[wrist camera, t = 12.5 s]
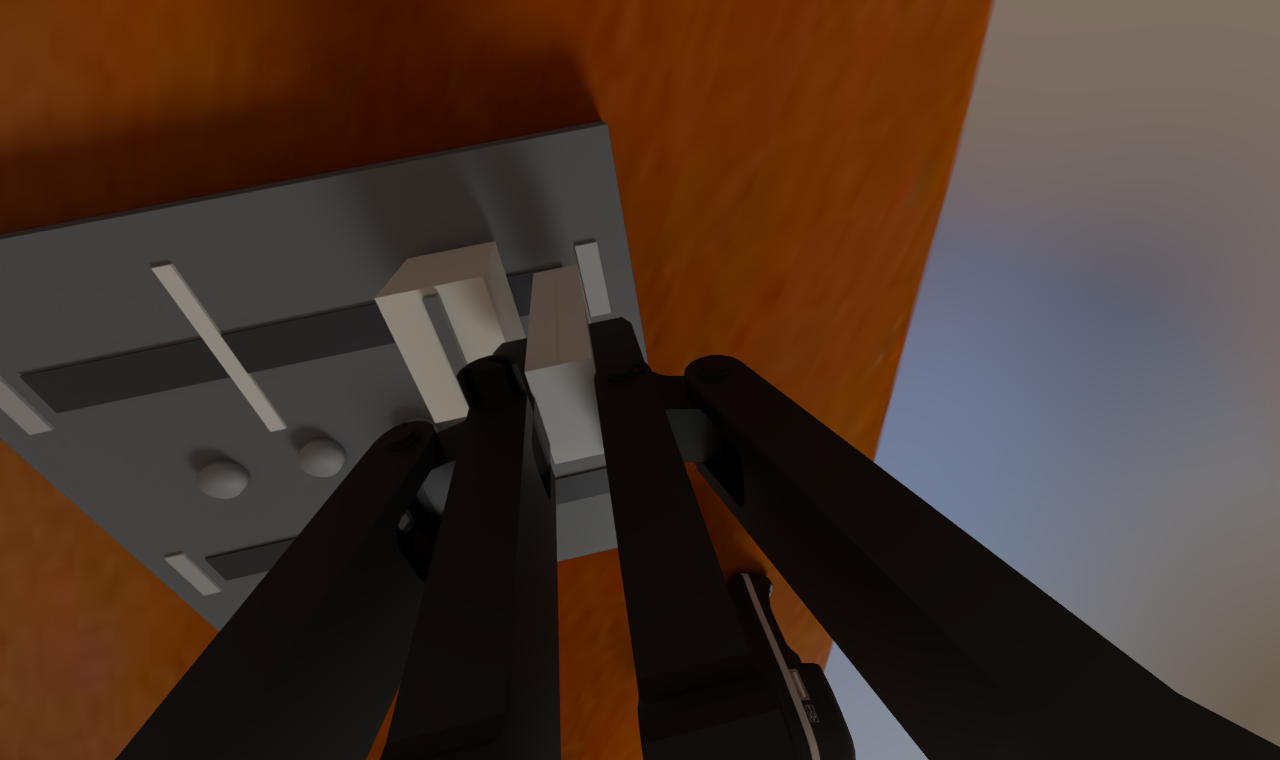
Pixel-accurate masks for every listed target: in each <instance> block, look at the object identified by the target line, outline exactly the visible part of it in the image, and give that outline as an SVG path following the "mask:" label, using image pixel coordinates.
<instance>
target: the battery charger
mask: <svg viewBox="0 0 1280 760" xmlns="http://www.w3.org/2000/svg"><path fill="white" fill-rule="evenodd" d="M727 588H728V591H729V594H730V597H731V599H732V602H733V605H734V608H735V611H736V614H737V616H738V619H739V622H740V625H741V628H742V631H743V634H744V636H745V639H746V642H747V645H748V648H749V651H750V653H751V656H752V659H753V661H754V664H755V666H756V667H757V669H758V670H759V671H760V672H761V673H762V674H763V675H764V676H765V678H766V680H767V682H768V683H769V685H770V687H771V690H772V692H773V695H774V697H775V700H776V702H777V705H778V707H779V710H780V712H781V715H782V718H783V721H784V723H785V726H786V729H787V731H788V734H789V737H790V740H791V742H792V745H793V748H794V751H795V753H796V756H797V759H798V760H856V758H855V749H854V744H853V740H852V738H851V735H850V732H849V730H848V727H847V725H846V722H845V720H844V717H843V715H842V712H841V710H840V707H839V705H838V703H837V701H836V698H835V696H834V694H833V691H832V689H831V687H830V685H829V683H828V681H827V679H826V677H825V675H824V673H823V671H822V669H821V667H820V665H819V664H815V663H801V660H800V658H799V656H798V655H797V654H796V653H795V652H794V651H793V650H792V649H791V648H790V647H789V646H788V645H787V644H786V642H785V640H784V637H783V635H782V633H781V631H780V629H779V627H778V624H777V622H776V620H775V618H774V615H773V613H772V610H771V607H770V601H769V597H770V595H771V593H772V590H773V585H772V583H771V581H770V579H769V578H767V577H765V576H762V575H756V574H755V575H748V574H747V573H741V574H740V575H734V576H733V577H732V579H731V581H730V583H729V585H728V587H727Z"/></svg>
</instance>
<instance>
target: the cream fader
mask: <svg viewBox="0 0 1280 760" xmlns="http://www.w3.org/2000/svg"><path fill="white" fill-rule="evenodd" d="M374 299H375V301H376V303H377V305H378V307H379V309H380V311H381V313H382V315H383V317H384V319H385V321H386V323H387V325H388V327H389V330H390V332H391V334H392V336H393V338H394V340H395V342H396V344H397V346H398V348H399V350H400V352H401V354H402V356H403V358H404V360H405V362H406V364H407V366H408V368H409V371H410V373H411V375H412V377H413V379H414V381H415V383H416V385H417V387H418V389H419V391H420V393H421V395H422V397H423V399H424V401H425V403H426V405H427V407H428V409H429V412H430V414H431V416H432V418H433V420H434V422H435V423H439V422H444V421H448V420H453V419H457V418H462V417H467V413H468V409H469V405H468V403H467V401H466V398H465V396H464V394H463V391H462V389H461V386H460V384H459V382H458V379H457V377H456V376H457V374H458V373H459V371H460V370H461V369H462V368H463V367H465V366H466V365H467V364H469V363H471V362H473V361H475V360H477V359H479V358H483V357H486V356H489V355H493V353H494V352H495V350H496V349H497V348H498V347H499V346H500V345H501V344H502V343H505V342H510V341H515V340H519V339H524V338H526V336H525V333H524V330H523V327H522V324H521V321H520V318H519V315H518V311H517V308H516V305H515V302H514V299H513V296H512V293H511V290H510V286H509V283H508V280H507V277H506V274H505V271H504V268H503V264H502V261H501V258H500V255H499V252H498V249H497V246H496V243H495V241H493V242H488V243H483V244H478V245H473V246H468V247H463V248H458V249H453V250H448V251H443V252H438V253H433V254H428V255H423V256H418V257H413V258H408V259H406V261H405V262H404V263H403V264H402V266H401V267H400V268H399V269H398V270H397V272H396V273H395V274H394V275H393V276H392V278H391V279H390V280H389V281H388V282H387V284H386V285H385V286H384V287H383V288H382V290H381V291H380V292H379V293H378V295H377V296H376V297H375V298H374Z"/></svg>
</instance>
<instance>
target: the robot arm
mask: <svg viewBox="0 0 1280 760" xmlns="http://www.w3.org/2000/svg"><path fill="white" fill-rule="evenodd" d="M456 377H457V379H458V382H459V384H460V386H461V389H462V391H463V394H464V396H465V398H466V401H467V403H468V405H469V409H468V413H467V417H466V420H464V421H462V422H460V423H458V424H456V425H454V426H452V427H449V428H447V429H444V430H442V431H439V432H436V430H435V428H434V426H433V424H431V423H430V422H428V421H419V420H417V421H411V422H405V423H402V424H400V425H397V426H395V427H393V428H391V429H390V430H389V431H387V432H385V433H384V434H382V435H381V436H380V437H379V438H378V439H377V440H376V441H375V442H374V443H373V444H372V445H371V447H370V448H369V449H368V450H367V452H366V453H365V454H364V455H363V456H362V458H361V459H360V460H359V461H358V463H357V464H356V465H355V466H354V467H353V469H352V470H351V471H350V472H349V474H348V475H347V476H346V477H345V479H344V480H343V481H342V482H341V483H340V485H339V486H338V487H337V488H336V490H335V491H334V492H333V493H332V494H331V496H330V497H329V498H328V499H327V501H326V502H325V503H324V504H323V506H322V507H321V508H320V509H319V510H318V512H317V513H316V514H315V515H314V517H313V518H312V519H311V520H310V521H309V523H308V524H307V525H306V526H305V528H304V529H303V530H302V531H301V532H300V534H299V535H298V536H297V537H296V539H295V540H294V541H293V542H292V544H291V545H290V546H289V547H288V548H287V550H286V551H285V552H284V553H283V555H282V556H281V557H280V558H279V559H278V561H277V562H276V563H275V564H274V566H273V567H272V568H271V569H270V570H269V572H268V573H267V574H266V575H265V577H264V578H263V579H262V580H261V582H260V583H259V584H258V585H257V586H256V588H255V589H254V590H253V591H252V593H251V594H250V595H249V596H248V597H247V599H246V600H245V601H244V602H243V604H242V605H241V606H240V607H239V609H238V610H237V611H236V612H235V613H234V615H233V616H232V617H231V618H230V620H229V621H228V622H227V623H226V624H225V626H224V627H223V628H222V629H221V631H220V632H219V633H218V634H217V635H216V637H215V638H214V639H213V640H212V642H211V643H210V644H209V645H208V647H207V648H206V649H205V650H204V651H203V653H202V654H201V655H200V656H199V658H198V659H197V660H196V661H195V662H194V664H193V665H192V666H191V667H190V669H189V670H188V671H187V672H186V673H185V675H184V676H183V677H182V678H181V680H180V681H179V682H178V683H177V685H176V686H175V687H174V688H173V689H172V691H171V692H170V693H169V694H168V696H167V697H166V698H165V699H164V700H163V702H162V703H161V704H160V705H159V707H158V708H157V709H156V710H155V712H154V713H153V714H152V715H151V716H150V718H149V719H148V720H147V721H146V723H145V724H144V725H143V726H142V727H141V729H140V730H139V731H138V732H137V734H136V735H135V736H134V737H133V738H132V740H131V741H130V742H129V743H128V745H127V746H126V747H125V748H124V750H123V751H122V752H121V753H120V754H119V756H118V757H117V758H116V759H115V760H366V758H367V756H368V754H369V752H370V749H371V747H372V745H373V743H374V741H375V738H376V736H377V734H378V732H379V730H380V727H381V725H382V723H383V721H384V719H385V717H386V714H387V712H388V710H389V708H390V706H391V703H392V701H393V699H394V697H395V695H396V692H397V690H398V688H399V686H400V688H399V692H398V696H397V700H396V704H395V708H394V712H393V716H392V721H391V725H390V729H389V733H388V737H387V741H386V745H385V747H384V750H383V753H382V756H381V758H380V760H561V744H560V690H559V636H558V582H557V528H556V478H555V475H554V472H553V469H552V466H551V463H550V451H551V454H552V457H553V460H554V463H555V464H559V463H563V462H568V461H572V460H577V459H581V458H586V457H590V456H595V455H599V454H604V455H605V462H606V468H607V475H608V482H609V489H610V496H611V503H612V510H613V517H614V524H615V531H616V538H617V545H618V552H619V559H620V566H621V573H622V580H623V587H624V594H625V601H626V608H627V614H628V621H629V628H630V635H631V642H632V649H633V656H634V663H635V670H636V677H637V684H638V693H639V702H638V720H639V729H640V737H641V746H642V753H643V760H798V759H797V756H796V753H795V751H794V748H793V745H792V742H791V740H790V737H789V734H788V731H787V729H786V726H785V723H784V721H783V718H782V715H781V712H780V710H779V707H778V705H777V702H776V700H775V697H774V695H773V692H772V690H771V687H770V685H769V683H768V682H767V680H766V678H765V676H764V675H763V674H762V673H761V672H760V671H759V670H758V669H757V667H756V666H755V664H754V661H753V659H752V656H751V653H750V651H749V648H748V645H747V642H746V639H745V636H744V634H743V631H742V628H741V625H740V622H739V619H738V616H737V614H736V611H735V608H734V605H733V602H732V599H731V597H730V594H729V591H728V588H727V585H726V582H725V579H724V577H723V574H722V571H721V568H720V565H719V562H718V559H717V557H716V554H715V551H714V548H713V545H712V542H711V540H710V537H709V534H708V531H707V528H706V525H705V522H704V520H703V517H702V514H701V511H700V508H699V505H698V502H697V500H696V497H695V494H694V491H693V488H692V485H691V482H690V480H689V477H688V474H687V471H686V468H685V465H684V463H683V462H695V465H696V467H697V469H698V471H699V472H700V473H701V475H702V476H703V477H704V478H705V480H706V481H707V482H708V484H709V485H710V486H711V487H712V489H713V490H714V491H715V492H716V494H717V495H718V496H719V497H720V499H721V500H722V501H723V502H724V504H725V505H726V506H727V507H728V509H729V510H730V511H731V512H732V514H733V515H734V516H735V517H736V519H737V520H738V521H739V522H740V524H741V525H742V526H743V527H744V529H745V530H746V531H747V532H748V534H749V535H750V536H751V537H752V539H753V540H754V541H755V542H756V544H757V545H758V546H759V547H760V549H761V550H762V551H763V553H764V554H765V555H766V556H767V558H768V559H769V560H770V561H771V563H772V564H773V565H774V566H775V568H776V569H777V570H778V571H779V573H780V574H781V575H782V576H783V578H784V579H785V580H786V581H787V583H788V584H789V585H790V586H791V588H792V589H793V590H794V591H795V593H796V594H797V595H798V596H799V598H800V599H801V600H802V601H803V603H804V604H805V605H806V606H807V608H808V609H809V610H810V611H811V613H812V614H813V615H814V616H815V618H816V619H817V620H818V621H819V623H820V624H821V625H822V627H823V628H824V629H825V630H826V632H827V633H828V634H829V635H830V637H831V638H832V639H833V640H834V642H836V644H837V645H838V647H839V648H840V649H841V650H842V651H843V653H844V654H845V655H846V657H847V658H848V659H849V660H850V662H851V663H852V664H853V665H854V667H855V668H856V669H857V670H858V672H859V673H860V674H861V675H862V677H863V678H864V679H865V680H866V682H867V683H868V684H869V685H870V687H871V688H872V689H873V690H874V692H875V693H876V694H877V695H878V697H879V698H880V699H881V700H882V702H883V703H884V704H885V705H886V707H887V708H888V709H889V711H890V712H891V713H892V714H893V716H894V717H895V718H896V719H897V721H898V722H899V723H900V724H901V725H902V727H903V728H904V729H905V730H906V732H907V733H908V734H909V736H910V737H911V738H912V739H913V741H914V742H915V743H916V744H917V746H918V747H919V748H920V749H921V751H922V752H923V753H924V754H925V756H926V757H927V758H928V759H929V760H1280V747H1279V746H1277V745H1274V744H1273V743H1271V742H1269V741H1267V740H1265V739H1264V738H1262V737H1260V736H1258V735H1256V734H1254V733H1252V732H1250V731H1248V730H1246V729H1245V728H1243V727H1241V726H1239V725H1237V724H1235V723H1233V722H1231V721H1229V720H1227V719H1226V718H1224V717H1222V716H1220V715H1218V714H1216V713H1214V712H1212V711H1210V710H1208V709H1206V708H1205V707H1203V706H1201V705H1199V704H1197V703H1195V702H1193V701H1191V700H1189V699H1188V698H1186V697H1184V696H1182V695H1180V694H1178V693H1177V692H1175V691H1174V690H1173V689H1171V688H1170V687H1169V686H1167V685H1166V684H1165V683H1163V682H1162V681H1161V680H1159V679H1158V678H1156V677H1155V676H1154V675H1153V674H1152V673H1150V672H1149V671H1148V670H1146V669H1145V668H1144V667H1142V666H1141V665H1140V664H1138V663H1137V662H1136V661H1134V660H1133V659H1132V658H1130V657H1129V656H1128V655H1127V654H1125V653H1124V652H1123V651H1121V650H1120V649H1119V648H1117V647H1116V646H1115V645H1113V644H1112V643H1111V642H1109V641H1108V640H1107V639H1105V638H1104V637H1103V636H1101V635H1100V634H1099V633H1097V632H1096V631H1095V630H1094V629H1092V628H1091V627H1090V626H1088V625H1087V624H1086V623H1084V622H1083V621H1082V620H1080V619H1079V618H1078V617H1077V616H1075V615H1074V614H1073V613H1071V612H1070V611H1069V610H1067V609H1066V608H1065V607H1063V606H1062V605H1061V604H1059V603H1058V602H1057V601H1055V600H1054V599H1053V598H1052V597H1050V596H1049V595H1048V594H1046V593H1045V592H1043V591H1042V590H1041V589H1040V588H1038V587H1037V586H1036V585H1034V584H1033V583H1032V582H1030V581H1029V580H1028V579H1026V578H1025V577H1024V576H1023V575H1021V574H1020V573H1019V572H1017V571H1016V570H1015V569H1013V568H1012V567H1011V566H1009V565H1008V564H1007V563H1005V562H1004V561H1003V560H1002V559H1000V558H999V557H998V556H996V555H995V554H994V553H992V552H991V551H990V550H988V549H987V548H986V547H984V546H983V545H982V544H980V543H979V542H978V541H977V540H975V539H974V538H973V537H971V536H970V535H969V534H967V533H966V532H965V531H963V530H962V529H961V528H959V527H958V526H957V525H955V524H954V523H953V522H952V521H950V520H949V519H948V518H946V517H945V516H944V515H942V514H941V513H940V512H938V511H937V510H935V509H934V508H933V507H932V506H930V505H929V504H928V503H926V502H925V501H924V500H923V499H921V498H920V497H919V496H917V495H916V494H915V493H913V492H912V491H911V490H909V489H908V488H907V487H905V486H904V485H903V484H902V483H900V482H899V481H898V480H896V479H895V478H894V477H892V476H891V475H890V474H888V473H887V472H886V471H884V470H883V469H882V468H880V467H879V466H878V465H877V464H875V463H874V462H873V461H871V460H870V459H869V458H867V457H866V456H865V455H863V454H862V453H861V452H859V451H858V450H857V449H855V448H854V447H853V446H852V445H850V444H849V443H848V442H846V441H845V440H844V439H842V438H841V437H840V436H838V435H837V434H836V433H834V432H833V431H832V430H830V429H829V428H828V427H827V426H825V425H824V424H823V423H821V422H820V421H819V420H817V419H816V418H815V417H813V416H812V415H811V414H809V413H808V412H807V411H805V410H804V409H803V408H802V407H800V406H799V405H798V404H796V403H795V402H794V401H792V400H791V399H790V398H788V397H787V396H786V395H784V394H783V393H782V392H780V391H779V390H778V389H777V388H775V387H774V386H773V385H771V384H770V383H769V382H767V381H766V380H765V379H763V378H762V377H761V376H759V375H758V374H757V373H755V372H754V371H753V370H752V369H750V368H749V367H748V366H746V365H745V364H744V363H742V362H741V361H739V360H737V359H735V358H733V357H729V356H724V355H709V356H706V357H702V358H699V359H697V360H695V361H693V362H691V363H690V364H689V365H688V366H687V367H686V368H685V373H684V376H665V375H660V374H657V373H654V372H652V371H651V368H650V367H649V366H648V364H647V363H646V362H645V361H644V358H643V355H642V352H641V350H640V347H639V344H638V341H637V338H636V335H635V333H634V329H633V326H632V323H631V322H629V321H628V320H626V319H624V318H623V317H619V318H614V319H609V320H604V321H600V322H595V323H591V322H590V317H589V313H588V308H587V304H586V300H585V295H584V291H583V286H582V282H581V278H580V273H579V269H578V265H573V266H568V267H563V268H558V269H553V270H548V271H543V272H538V273H533V282H532V293H531V305H530V316H529V327H528V338H524V339H519V340H515V341H510V342H505V343H502V344H501V345H500V346H499V347H498V348H497V349H496V350H495V352H494V353H493V355H489V356H486V357H483V358H479V359H477V360H475V361H473V362H471V363H469V364H467V365H466V366H465V367H463V368H462V369H461V370H460V371H459V373H458V374H457V376H456ZM404 514H406V515H407V517H408V519H409V521H408V523H407V525H406V526H405V528H404V529H403V530H401V529H400V528H399V526H398V525H399V523H400V520H401V518H402V517H403V515H404Z"/></svg>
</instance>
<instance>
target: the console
mask: <svg viewBox="0 0 1280 760" xmlns="http://www.w3.org/2000/svg"><path fill="white" fill-rule="evenodd" d="M493 241H495V243H496V246H497V249H498V252H499V255H500V258H501V261H502V264H503V268H504V271H505V274H506V277H507V280H508V283H509V286H510V290H511V293H512V296H513V299H514V302H515V305H516V308H517V311H518V315H519V318H520V321H521V324H522V327H523V330H524V333H525V336H526V338H528V327H529V316H530V305H531V293H532V282H533V273H538V272H543V271H548V270H553V269H558V268H563V267H568V266H573V265H578V269H579V273H580V278H581V282H582V286H583V291H584V295H585V300H586V304H587V308H588V313H589V317H590V322H591V323H595V322H600V321H604V320H609V319H614V318H619V317H623V318H624V319H626V320H628V321H629V322H631V323H632V326H633V329H634V333H635V335H636V338H637V341H638V344H639V347H640V350H641V352H642V355H643V358H644V361H645V362H646V363H647V364H648V361H647V355H646V349H645V343H644V337H643V331H642V325H641V319H640V314H639V308H638V302H637V296H636V290H635V284H634V278H633V272H632V266H631V261H630V255H629V249H628V243H627V237H626V231H625V225H624V219H623V213H622V207H621V202H620V196H619V190H618V184H617V178H616V172H615V166H614V160H613V154H612V149H611V143H610V137H609V131H608V125H607V124H606V123H605V122H603V121H597V122H592V123H587V124H581V125H576V126H571V127H566V128H560V129H555V130H550V131H544V132H539V133H534V134H529V135H523V136H518V137H513V138H507V139H502V140H497V141H491V142H486V143H481V144H476V145H470V146H465V147H460V148H454V149H449V150H444V151H439V152H433V153H428V154H423V155H417V156H412V157H407V158H402V159H396V160H391V161H386V162H380V163H375V164H370V165H365V166H359V167H354V168H349V169H343V170H338V171H333V172H327V173H322V174H317V175H312V176H306V177H301V178H296V179H290V180H285V181H280V182H275V183H269V184H264V185H259V186H253V187H248V188H243V189H238V190H232V191H227V192H222V193H216V194H211V195H206V196H201V197H195V198H190V199H185V200H179V201H174V202H169V203H163V204H158V205H153V206H148V207H142V208H137V209H132V210H126V211H121V212H116V213H111V214H105V215H100V216H95V217H89V218H84V219H79V220H74V221H68V222H63V223H58V224H52V225H47V226H42V227H36V228H31V229H26V230H21V231H15V232H10V233H5V234H0V439H1V440H3V441H4V442H5V443H6V444H7V445H8V446H9V447H11V448H12V449H13V450H14V451H15V452H16V453H17V454H18V455H20V456H21V457H22V458H23V459H24V460H25V461H26V462H28V463H29V464H30V465H31V466H32V467H33V468H34V469H35V470H37V471H38V472H39V473H40V474H41V475H42V476H43V477H45V478H46V479H47V480H48V481H49V482H50V483H51V484H52V485H54V486H55V487H56V488H57V489H58V490H59V491H60V492H62V493H63V494H64V495H65V496H66V497H67V498H68V499H69V500H71V501H72V502H73V503H74V504H75V505H76V506H77V507H79V508H80V509H81V510H82V511H83V512H84V513H85V514H86V515H88V516H89V517H90V518H91V519H92V520H93V521H94V522H96V523H97V524H98V525H99V526H100V527H101V528H102V529H103V530H105V531H106V532H107V533H108V534H109V535H110V536H111V537H113V538H114V539H115V540H116V541H117V542H118V543H119V544H120V545H122V546H123V547H124V548H125V549H126V550H127V551H128V552H130V553H131V554H132V555H133V556H134V557H135V558H136V559H137V560H139V561H140V562H141V563H142V564H143V565H144V566H145V567H147V568H148V569H149V570H150V571H151V572H152V573H153V574H154V575H156V576H157V577H158V578H159V579H160V580H161V581H162V582H164V583H165V584H166V585H167V586H168V587H169V588H170V589H171V590H173V591H174V592H175V593H176V594H177V595H178V596H179V597H181V598H182V599H183V600H184V601H185V602H186V603H187V604H188V605H190V606H191V607H192V608H193V609H194V610H195V611H196V612H198V613H199V614H200V615H201V616H202V617H203V618H204V619H205V620H207V621H208V622H209V623H210V624H211V625H212V626H213V627H215V628H216V629H217V630H218V631H219V632H220V631H221V629H222V628H223V627H224V626H225V624H226V623H227V622H228V621H229V620H230V618H231V617H232V616H233V615H234V613H235V612H236V611H237V610H238V609H239V607H240V606H241V605H242V604H243V602H244V601H245V600H246V599H247V597H248V596H249V595H250V594H251V593H252V591H253V590H254V589H255V588H256V586H257V585H258V584H259V583H260V582H261V580H262V579H263V578H264V577H265V575H266V574H267V573H268V572H269V570H270V569H271V568H272V567H273V566H274V564H275V563H276V562H277V561H278V559H279V558H280V557H281V556H282V555H283V553H284V552H285V551H286V550H287V548H288V547H289V546H290V545H291V544H292V542H293V541H294V540H295V539H296V537H297V536H298V535H299V534H300V532H301V531H302V530H303V529H304V528H305V526H306V525H307V524H308V523H309V521H310V520H311V519H312V518H313V517H314V515H315V514H316V513H317V512H318V510H319V509H320V508H321V507H322V506H323V504H324V503H325V502H326V501H327V499H328V498H329V497H330V496H331V494H332V493H333V492H334V491H335V490H336V488H337V487H338V486H339V485H340V483H341V482H342V481H343V480H344V479H345V477H346V476H347V475H348V474H349V472H350V471H351V470H352V469H353V467H354V466H355V465H356V464H357V463H358V461H359V460H360V459H361V458H362V456H363V455H364V454H365V453H366V452H367V450H368V449H369V448H370V447H371V445H372V444H373V443H374V442H375V441H376V440H377V439H378V438H379V437H380V436H381V435H382V434H384V433H385V432H387V431H389V430H390V429H391V428H393V427H395V426H397V425H400V424H402V423H405V422H411V421H417V420H419V421H428V422H430V423H431V424H433V426H434V428H435V430H436V432H439V431H442V430H444V429H447V428H449V427H452V426H454V425H456V424H458V423H460V422H462V421H464V420H466V417H462V418H457V419H453V420H448V421H444V422H439V423H435V422H434V420H433V418H432V416H431V414H430V412H429V409H428V407H427V405H426V403H425V401H424V399H423V397H422V395H421V393H420V391H419V389H418V387H417V385H416V383H415V381H414V379H413V377H412V375H411V373H410V371H409V368H408V366H407V364H406V362H405V360H404V358H403V356H402V354H401V352H400V350H399V348H398V346H397V344H396V342H395V340H394V338H393V336H392V334H391V332H390V330H389V327H388V325H387V323H386V321H385V319H384V317H383V315H382V313H381V311H380V309H379V307H378V305H377V303H376V301H375V299H374V298H375V297H376V296H377V295H378V293H379V292H380V291H381V290H382V288H383V287H384V286H385V285H386V284H387V282H388V281H389V280H390V279H391V278H392V276H393V275H394V274H395V273H396V272H397V270H398V269H399V268H400V267H401V266H402V264H403V263H404V262H405V261H406V259H408V258H413V257H418V256H423V255H428V254H433V253H438V252H443V251H448V250H453V249H458V248H463V247H468V246H473V245H478V244H483V243H488V242H493ZM550 463H551V466H552V469H553V472H554V475H555V478H556V528H557V562H558V561H562V560H567V559H571V558H575V557H579V556H584V555H588V554H592V553H596V552H600V551H605V550H609V549H613V548H617V547H618V545H617V538H616V531H615V524H614V517H613V510H612V503H611V496H610V489H609V482H608V475H607V468H606V462H605V455H604V454H599V455H595V456H590V457H586V458H581V459H577V460H572V461H568V462H563V463H559V464H555V463H554V460H553V457H552V454H551V451H550ZM408 521H409V519H408V517H407V515H406V514H404V515H403V517H402V518H401V520H400V523H399V525H398V526H399V528H400V529H401V530H403V529H404V528H405V526H406V525H407V523H408Z"/></svg>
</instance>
